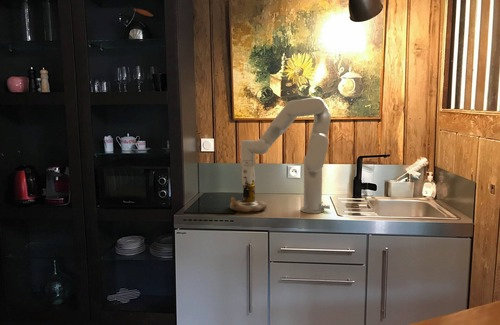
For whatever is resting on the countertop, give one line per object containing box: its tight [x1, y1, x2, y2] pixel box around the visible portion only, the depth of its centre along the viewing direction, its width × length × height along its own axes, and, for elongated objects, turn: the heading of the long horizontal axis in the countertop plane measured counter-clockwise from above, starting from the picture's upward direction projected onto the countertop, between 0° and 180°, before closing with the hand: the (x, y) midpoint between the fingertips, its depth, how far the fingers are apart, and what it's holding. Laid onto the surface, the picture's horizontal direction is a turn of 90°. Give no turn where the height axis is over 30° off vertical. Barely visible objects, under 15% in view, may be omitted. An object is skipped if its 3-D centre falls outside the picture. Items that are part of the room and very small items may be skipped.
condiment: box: [238, 180, 258, 204], centre depth 226 cm, size 7×8×12 cm
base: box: [239, 211, 257, 213], centre depth 228 cm, size 12×12×1 cm
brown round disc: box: [229, 197, 267, 212], centre depth 227 cm, size 20×20×6 cm
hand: (248, 195), depth 227 cm, fingers closed on condiment, 6 cm apart
